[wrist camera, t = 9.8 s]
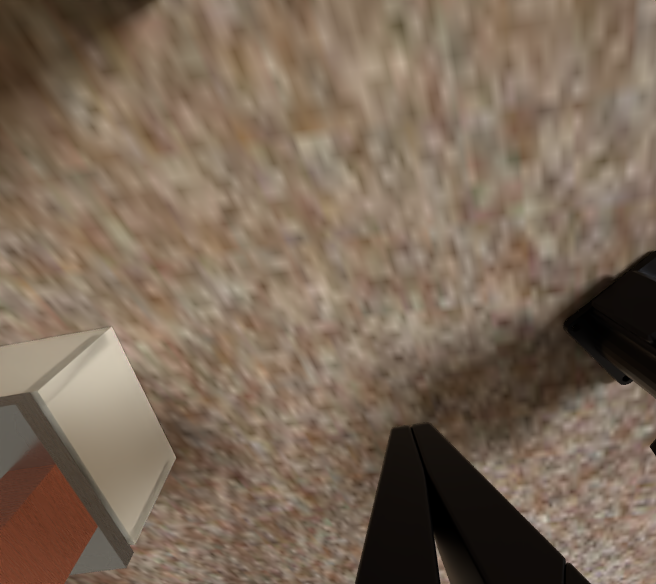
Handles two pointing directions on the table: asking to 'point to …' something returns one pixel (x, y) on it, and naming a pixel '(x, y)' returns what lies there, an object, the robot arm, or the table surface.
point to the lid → (48, 505)
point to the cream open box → (96, 417)
